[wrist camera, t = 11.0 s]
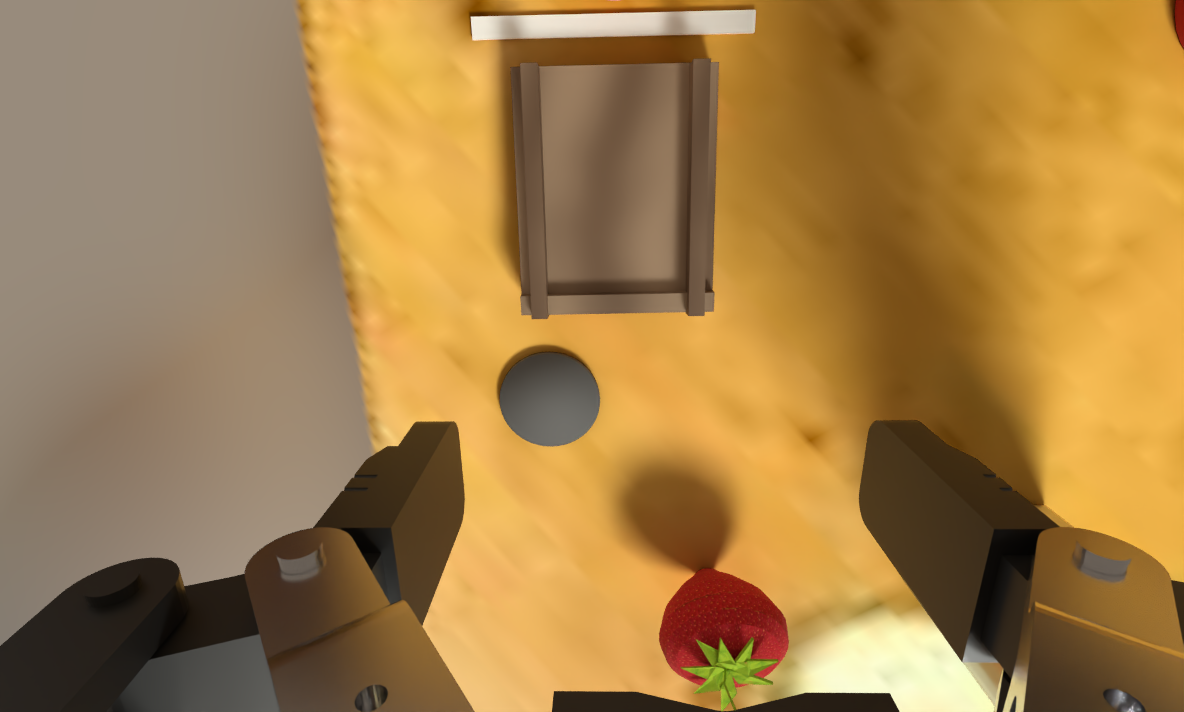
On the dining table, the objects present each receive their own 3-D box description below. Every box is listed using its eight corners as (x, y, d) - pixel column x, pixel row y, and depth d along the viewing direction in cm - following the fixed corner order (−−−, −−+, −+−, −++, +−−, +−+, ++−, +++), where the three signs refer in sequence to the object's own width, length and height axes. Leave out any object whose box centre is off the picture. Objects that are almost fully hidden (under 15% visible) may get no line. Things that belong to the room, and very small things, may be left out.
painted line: (754, 10, 29) (756, 9, 29) (753, 33, 30) (754, 32, 29) (471, 17, 29) (470, 16, 29) (473, 40, 30) (472, 39, 29)
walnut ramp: (712, 66, 30) (728, 54, 26) (702, 299, 34) (716, 317, 30) (515, 71, 30) (503, 59, 26) (528, 303, 34) (520, 321, 30)
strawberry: (764, 602, 41) (816, 738, 31) (655, 615, 41) (674, 752, 32) (760, 530, 39) (814, 651, 29) (646, 543, 39) (662, 667, 30)
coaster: (598, 350, 35) (598, 353, 35) (600, 442, 37) (600, 445, 36) (497, 352, 35) (496, 354, 35) (504, 444, 37) (503, 447, 37)
